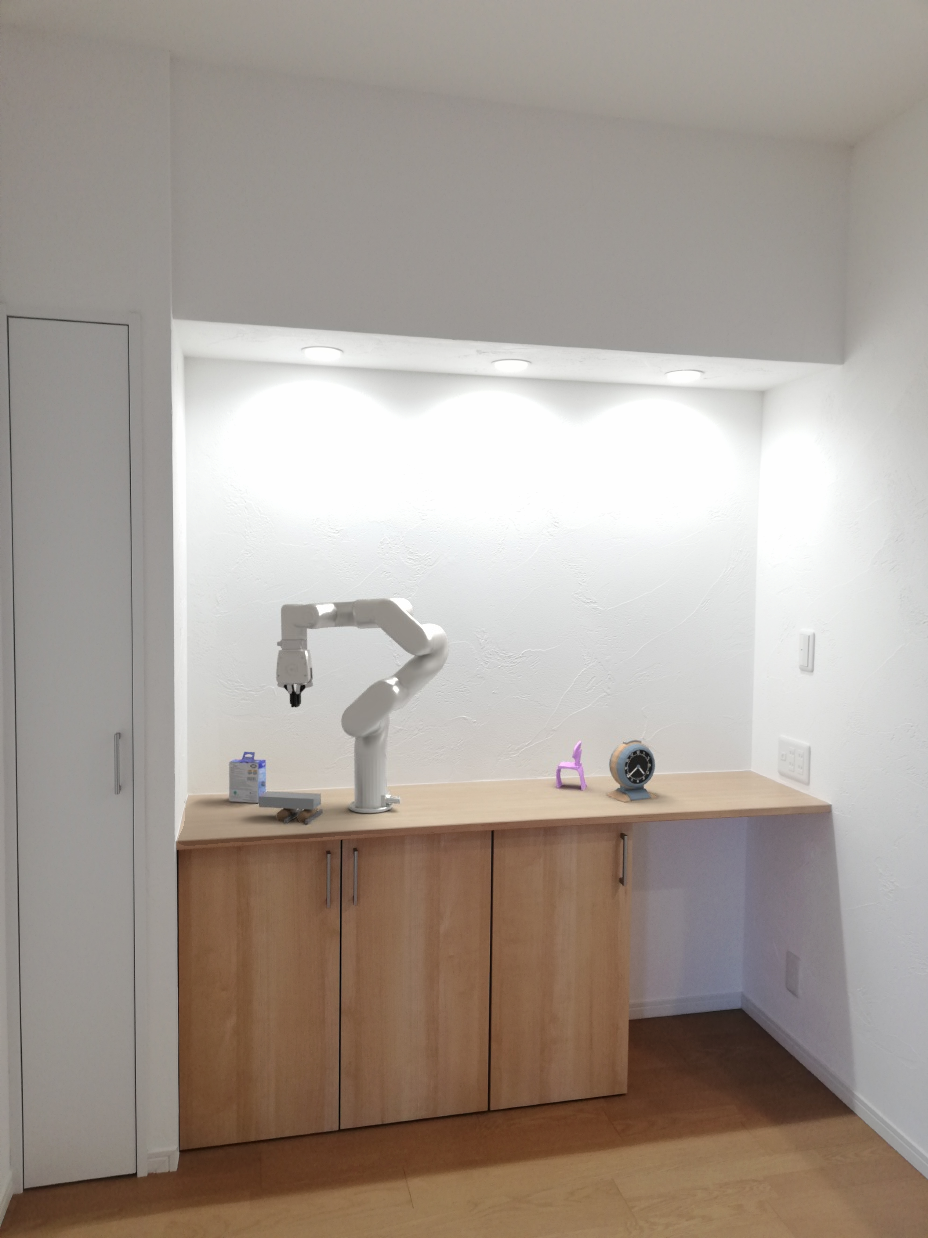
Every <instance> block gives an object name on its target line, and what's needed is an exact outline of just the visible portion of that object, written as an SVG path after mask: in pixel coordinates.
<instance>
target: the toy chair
mask: <svg viewBox="0 0 928 1238" xmlns="http://www.w3.org/2000/svg"><path fill="white" fill-rule="evenodd" d="M581 746H582V740H579V741H578V742H577V743H576V745H575V746H574V748H573V754H572V759H573V760H574V762H570V761H562V762H560V764H558V765H557V769H555V778H556V779H555V781H556V789H559V788H561V786H563V782H562V781H563V780H562V777H561V771H562V770H563V769H565V770H574V771H577V772H578V776H579V781H580V786H581V787H580V789H581V791H584V790H585V789H586V787H587V783H586V779H585V773H584V772H585V771H584V766H583V763H582V762H581V759H582V751H583V750H582V749H581V748H582V747H581Z"/></svg>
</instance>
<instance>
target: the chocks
mask: <svg viewBox="0 0 928 1238" xmlns="http://www.w3.org/2000/svg"><path fill="white" fill-rule="evenodd" d="M303 810H304V809H297V811H296V812H294V813H293V814H291V815H290V816H289V817H287V818H286V819H284V821H283V823H284V824H288V823H290V822H291V821H293V819H295V818H297V816H298V814H299V813H300V812H301V811H303ZM323 810H324V809H322V808H321V809H318V811H317V812H316V813H314V814H313V815H312V816H310V817H309V818H308V819H307V820H305V822H304V824H305V825H309V824H311V822H313V821H314V820H315V819H317V818H318V817H320V816H321V815H322V814H323Z"/></svg>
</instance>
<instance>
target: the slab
mask: <svg viewBox="0 0 928 1238" xmlns="http://www.w3.org/2000/svg"><path fill="white" fill-rule="evenodd" d="M321 804H322V794H321V793H314V792H311V793H310V792H291V791H269V790H268V791H267V790H266V792H265V793H263V794H262V795H260V796H259V803H258V808H271V809H272V808H273V809H283V808H289V809H297V810H298V809H303V810H304V809H310V810H314V809H315V808H316V807H317V808H318V807H319V806H321Z"/></svg>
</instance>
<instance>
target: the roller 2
mask: <svg viewBox="0 0 928 1238" xmlns="http://www.w3.org/2000/svg"><path fill="white" fill-rule="evenodd" d="M318 810H319V809H318V807H316V808H315V809H314V810H310V809H303V811H301V812H300V813H299V814H298V816H296V818H297V821H298V822H299V823H305V820H307V819H308V818H309V817H310V816H312V815H313V814H314V813H316V812H317V811H318Z"/></svg>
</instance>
